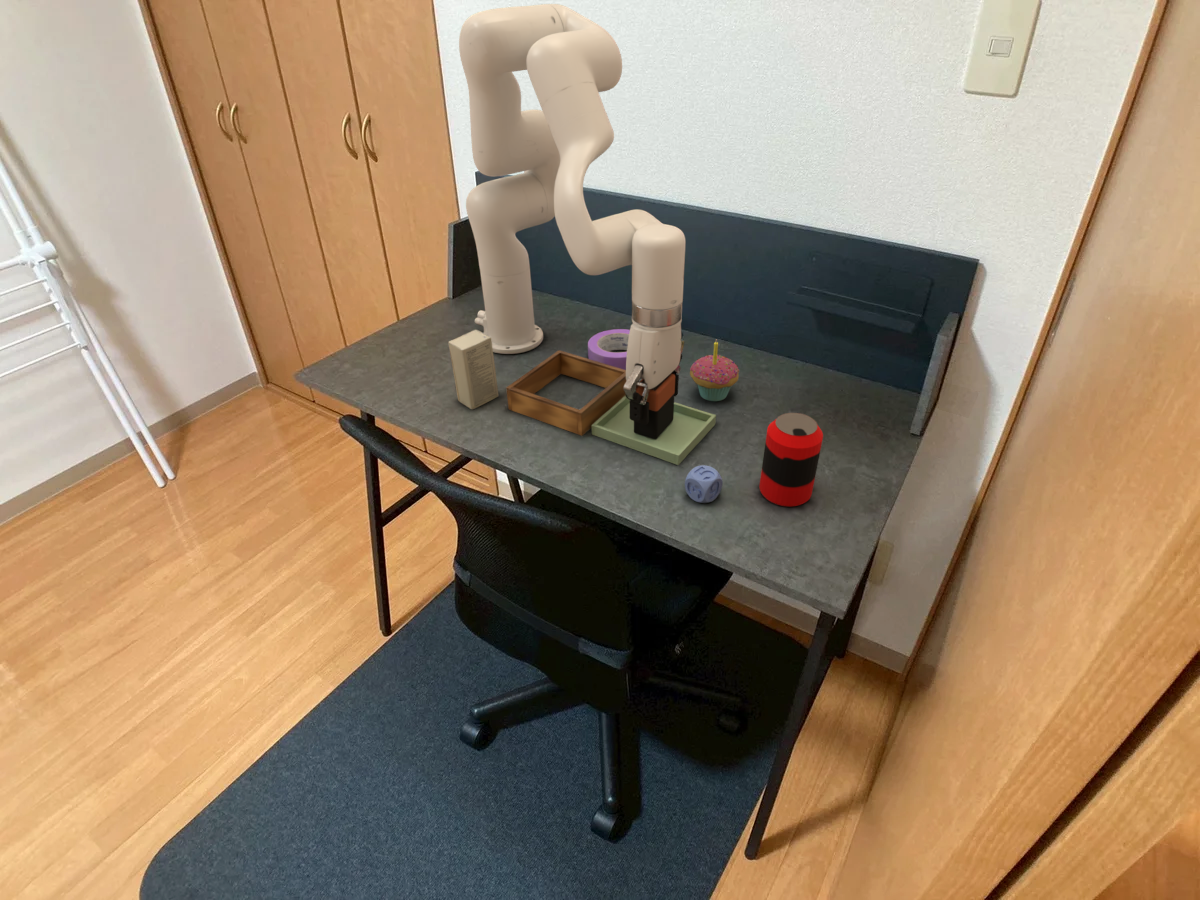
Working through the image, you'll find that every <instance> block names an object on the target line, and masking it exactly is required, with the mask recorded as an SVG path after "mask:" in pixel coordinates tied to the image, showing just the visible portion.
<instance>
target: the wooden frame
mask: <svg viewBox="0 0 1200 900" xmlns="http://www.w3.org/2000/svg"><path fill="white" fill-rule="evenodd" d="M560 375H562V376H563V375H564V376H567V377H570V378H572V379H576V380H580V381H583V382H586V383H589V384H591V385H595V386H599V387H601V388H604V389H603V390H601V391H600V392H599V393H598V394H597V395H596V396H594V397H593V398H592V399H590V401H589V402H587V403H586V404H584V405H583V406H582V407H581V408H580V409H578V408H576V407H572V406H570V405H567V404H564V403H562V402H558V401H555V400H552V399H550V398H546V397H544V396H540V395H537V392H539V391H540V390H542V389H543V388H544V387H546V386H547V385H548V384H550V383H551V382H552V381H553V380H555V379H556V378H558V377H559V376H560ZM625 383H626V370H624V369H620V368H617V367H614V366H610V365H607V364H604V363H600V362H597V361H594V360H590V359H588V358H587V357H584V356H580V355H577V354H573V353H570V352H567V351H564V350H560V349H558V350H557V351H555V352H554V353H553V354H551V355H550V356H549V357H547V358H546V359H544V360H543V361H541V362H540V363H539V364H537V365H536V366H534V367H533V368H531V369H530V370H529V371H527V372H526V373H524V374H523V375H521V376H520V377H519V378H517V379H516V380H515V381H513V382H512V383H510V384H509V385H507V386H506V387H505V390H506V399H507V405H508V406H507V407H508V410H510V411H511V412H515V413H517V414H520V415H523V416H526V417H529V418H531V419H534V420H537V421H540V422H543V423H545V424H548V425H550V426H554V427H557V428H559V429H562V430H565V431H568V432H569V433H573V434H575V435H578V436H581V437H582V436H585V434H586V433H588V431H590V430H591V429H592V424H593V423H595V422H596V421H597V420H598V419H599V418H600V417H601V416H603V415H604V414H605V413H606V412H607V411H608V410H609V409H611V408H612V407H613V406H614V405H615V404H616V403H617V402H619V401H620V400H621V399H622V398H623V397H624V396H625V395H626V394H625V391H624V389H623V387H624V384H625Z"/></svg>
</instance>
